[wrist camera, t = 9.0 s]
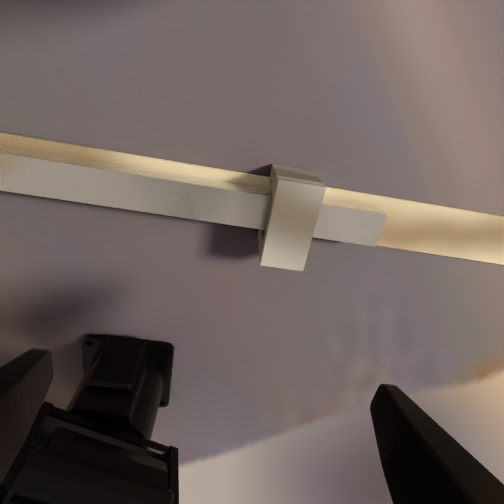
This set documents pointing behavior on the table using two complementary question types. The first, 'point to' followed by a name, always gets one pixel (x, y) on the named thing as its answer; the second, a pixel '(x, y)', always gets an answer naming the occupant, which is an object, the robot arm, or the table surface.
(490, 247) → the track
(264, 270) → the table surface
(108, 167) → the rod
